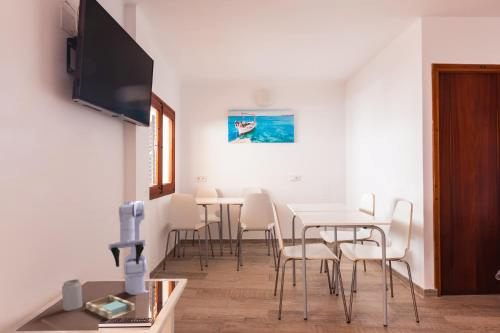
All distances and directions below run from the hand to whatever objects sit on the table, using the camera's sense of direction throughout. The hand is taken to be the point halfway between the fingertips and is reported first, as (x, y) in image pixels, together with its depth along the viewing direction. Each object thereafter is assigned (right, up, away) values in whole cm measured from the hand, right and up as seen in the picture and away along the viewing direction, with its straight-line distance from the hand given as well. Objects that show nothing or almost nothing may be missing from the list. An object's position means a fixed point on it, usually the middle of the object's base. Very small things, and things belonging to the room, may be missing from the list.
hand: (127, 265), depth 142 cm
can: (-27, -22, +11) cm, 36 cm away
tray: (-9, -21, +5) cm, 23 cm away
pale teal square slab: (-7, -20, +3) cm, 21 cm away
